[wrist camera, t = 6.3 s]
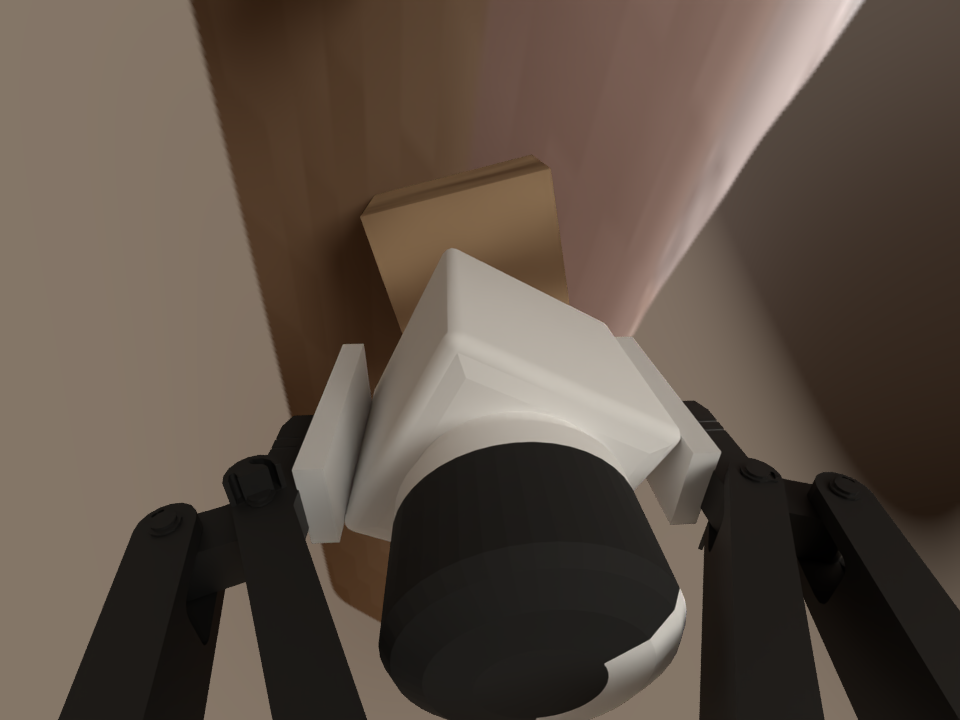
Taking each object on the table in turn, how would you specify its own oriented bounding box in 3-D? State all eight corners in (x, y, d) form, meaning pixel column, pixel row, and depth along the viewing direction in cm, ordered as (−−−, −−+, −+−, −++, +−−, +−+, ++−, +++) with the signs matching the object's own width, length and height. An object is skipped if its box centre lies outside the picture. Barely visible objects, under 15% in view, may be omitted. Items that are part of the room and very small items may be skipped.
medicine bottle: (372, 391, 19) (287, 743, 9) (447, 241, 16) (453, 503, 6) (517, 446, 21) (587, 783, 11) (607, 322, 18) (823, 622, 8)
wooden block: (375, 194, 29) (360, 216, 23) (531, 154, 28) (550, 168, 23) (421, 331, 34) (417, 375, 29) (553, 300, 33) (574, 338, 28)
